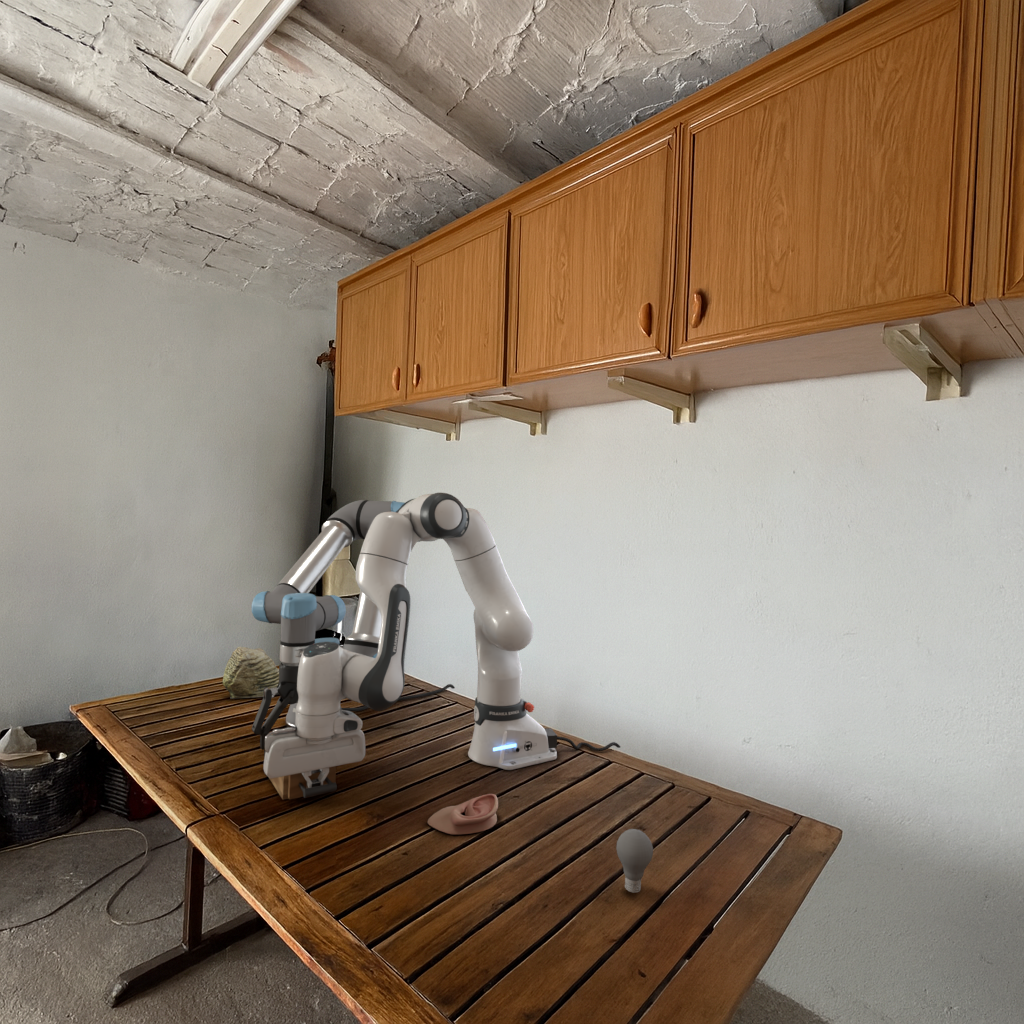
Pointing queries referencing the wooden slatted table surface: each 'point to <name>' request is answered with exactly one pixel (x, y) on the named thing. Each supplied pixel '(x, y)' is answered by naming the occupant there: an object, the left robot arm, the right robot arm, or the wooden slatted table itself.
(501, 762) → the right robot arm
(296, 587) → the left robot arm
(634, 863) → the light bulb
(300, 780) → the drawer
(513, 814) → the wooden slatted table surface
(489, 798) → the anatomical model
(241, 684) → the fossil
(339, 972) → the wooden slatted table surface
